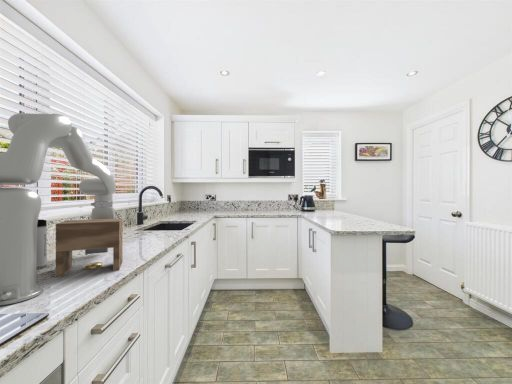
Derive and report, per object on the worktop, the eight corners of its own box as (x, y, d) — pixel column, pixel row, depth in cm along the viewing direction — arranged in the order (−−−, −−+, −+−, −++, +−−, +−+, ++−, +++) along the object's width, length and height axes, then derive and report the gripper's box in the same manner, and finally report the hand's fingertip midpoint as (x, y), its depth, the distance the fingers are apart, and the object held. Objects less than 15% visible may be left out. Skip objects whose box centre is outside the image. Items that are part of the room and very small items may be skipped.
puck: (100, 269, 98) (100, 265, 98) (82, 270, 95) (82, 267, 95) (103, 265, 103) (103, 261, 103) (86, 266, 101) (86, 262, 101)
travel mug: (21, 269, 96) (21, 218, 97) (42, 264, 102) (42, 217, 102) (28, 271, 94) (28, 219, 94) (49, 266, 99) (49, 217, 99)
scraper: (107, 252, 106) (107, 236, 106) (85, 254, 103) (85, 237, 103) (113, 243, 124) (113, 229, 124) (95, 244, 120) (95, 230, 120)
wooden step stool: (119, 270, 96) (119, 221, 96) (55, 276, 88) (55, 224, 88) (122, 261, 107) (122, 218, 107) (66, 267, 99) (66, 220, 99)
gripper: (81, 205, 113) (81, 245, 114) (121, 205, 120) (121, 242, 120) (85, 205, 120) (85, 242, 121) (123, 204, 127) (123, 239, 127)
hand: (103, 242), depth 120 cm, fingers closed on scraper, 3 cm apart
